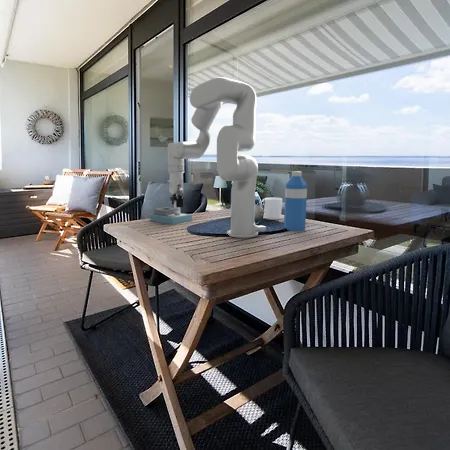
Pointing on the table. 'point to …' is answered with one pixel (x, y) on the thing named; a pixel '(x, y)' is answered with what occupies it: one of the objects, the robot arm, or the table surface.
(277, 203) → the mug
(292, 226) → the water bottle
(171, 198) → the chuck key
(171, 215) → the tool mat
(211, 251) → the table surface
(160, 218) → the drill base
